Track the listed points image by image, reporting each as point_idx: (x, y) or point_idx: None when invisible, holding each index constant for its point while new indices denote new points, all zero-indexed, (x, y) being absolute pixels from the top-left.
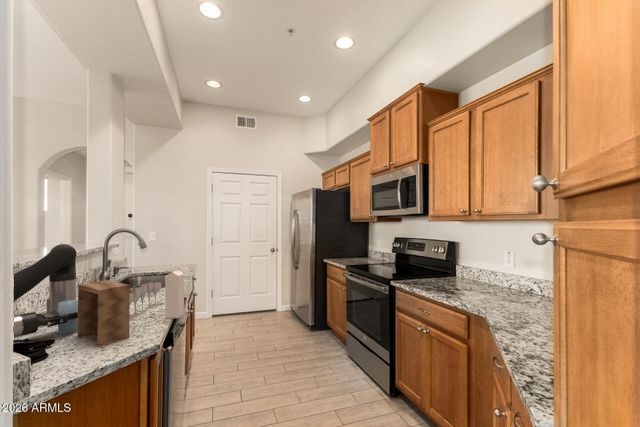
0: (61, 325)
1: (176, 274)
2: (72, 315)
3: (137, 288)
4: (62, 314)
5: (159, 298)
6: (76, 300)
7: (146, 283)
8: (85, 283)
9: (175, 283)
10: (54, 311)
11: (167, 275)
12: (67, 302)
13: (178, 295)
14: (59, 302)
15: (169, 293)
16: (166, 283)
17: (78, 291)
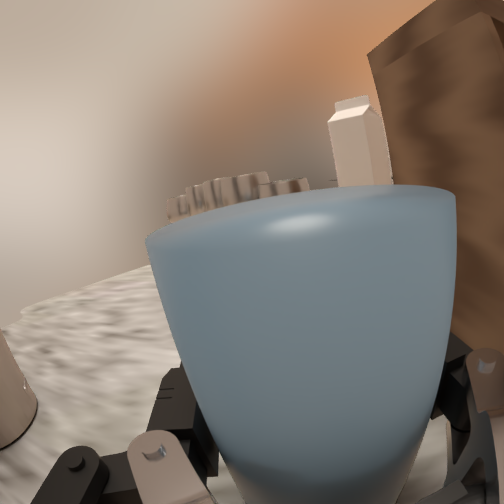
0: (391, 501)
1: (376, 113)
2: (456, 342)
3: (266, 174)
4: (429, 409)
5: (148, 266)
6: (299, 193)
7: (198, 188)
8: (434, 1)
9: (381, 139)
10: (80, 468)
11: (365, 113)
12: (365, 197)
13: (390, 175)
14: (207, 244)
15: (378, 170)
16: (369, 138)
17: (497, 38)
